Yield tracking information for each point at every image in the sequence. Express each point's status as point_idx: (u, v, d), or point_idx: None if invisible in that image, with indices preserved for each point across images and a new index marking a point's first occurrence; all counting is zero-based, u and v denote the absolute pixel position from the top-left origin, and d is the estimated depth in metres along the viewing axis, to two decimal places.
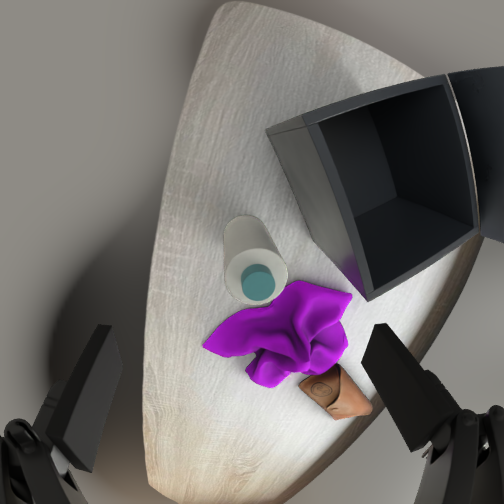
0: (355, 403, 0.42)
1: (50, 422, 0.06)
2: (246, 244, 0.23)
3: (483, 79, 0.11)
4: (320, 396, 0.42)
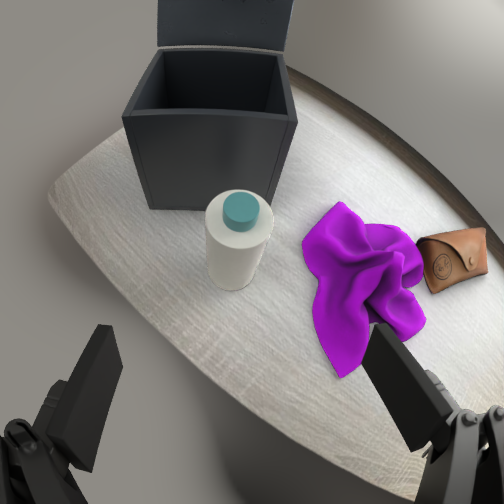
0: (468, 235, 0.33)
1: (50, 422, 0.06)
2: None
3: (164, 21, 0.21)
4: (450, 271, 0.32)
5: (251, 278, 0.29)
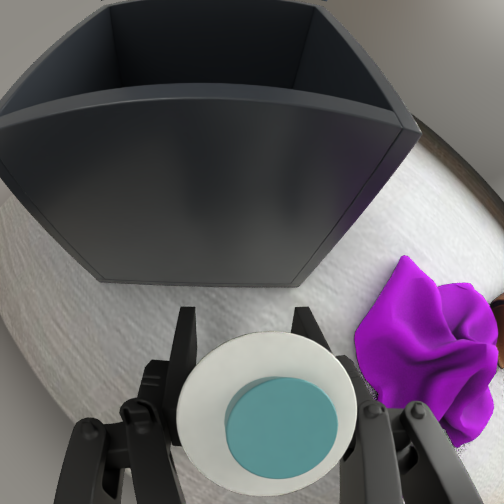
0: None
1: (164, 397, 0.08)
2: None
3: None
4: None
5: None
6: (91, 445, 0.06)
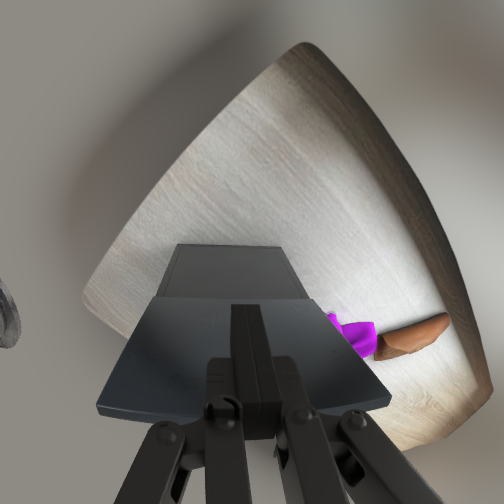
0: (424, 336, 0.46)
1: (240, 392, 0.09)
2: None
3: None
4: (394, 355, 0.48)
5: None
6: (167, 450, 0.06)
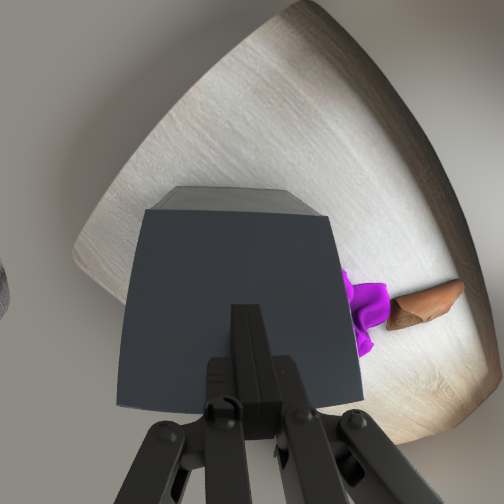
0: (439, 301, 0.42)
1: (240, 392, 0.09)
2: None
3: None
4: (408, 323, 0.45)
5: None
6: (167, 450, 0.06)
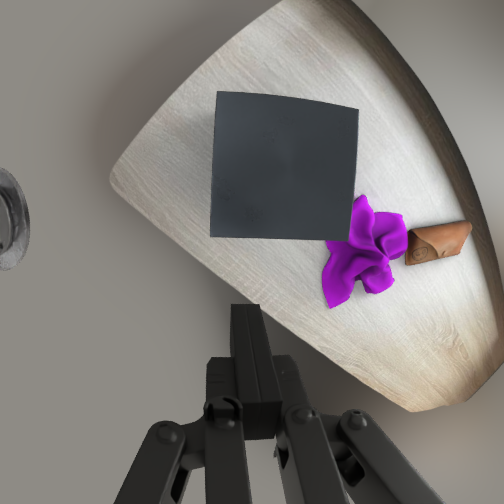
0: (451, 236, 0.45)
1: (240, 392, 0.09)
2: None
3: None
4: (424, 256, 0.48)
5: None
6: (167, 450, 0.06)
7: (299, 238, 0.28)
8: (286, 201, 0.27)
